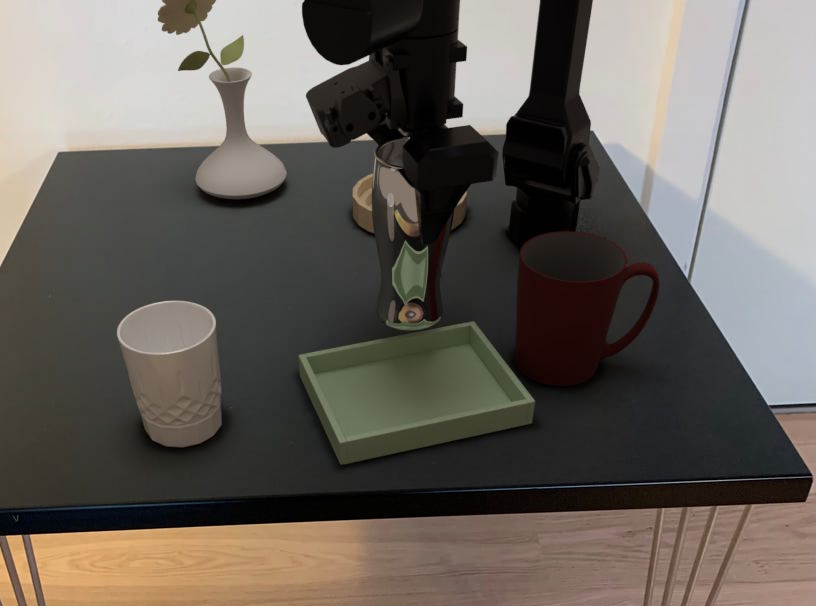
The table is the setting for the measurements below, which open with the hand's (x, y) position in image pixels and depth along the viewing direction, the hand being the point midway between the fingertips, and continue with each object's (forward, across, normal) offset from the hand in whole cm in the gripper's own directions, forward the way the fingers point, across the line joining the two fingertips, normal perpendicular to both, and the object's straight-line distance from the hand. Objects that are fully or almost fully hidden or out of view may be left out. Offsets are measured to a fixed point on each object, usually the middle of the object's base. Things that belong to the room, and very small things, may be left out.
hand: (413, 224), depth 77 cm
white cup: (+14, +4, -22) cm, 26 cm away
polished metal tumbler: (+9, 0, 0) cm, 9 cm away
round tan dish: (+13, -27, +10) cm, 32 cm away
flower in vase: (+13, -41, -8) cm, 44 cm away
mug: (+13, +6, +14) cm, 20 cm away
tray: (+13, +7, -2) cm, 15 cm away
